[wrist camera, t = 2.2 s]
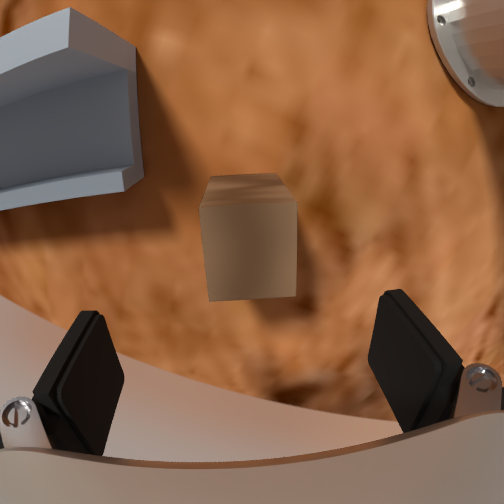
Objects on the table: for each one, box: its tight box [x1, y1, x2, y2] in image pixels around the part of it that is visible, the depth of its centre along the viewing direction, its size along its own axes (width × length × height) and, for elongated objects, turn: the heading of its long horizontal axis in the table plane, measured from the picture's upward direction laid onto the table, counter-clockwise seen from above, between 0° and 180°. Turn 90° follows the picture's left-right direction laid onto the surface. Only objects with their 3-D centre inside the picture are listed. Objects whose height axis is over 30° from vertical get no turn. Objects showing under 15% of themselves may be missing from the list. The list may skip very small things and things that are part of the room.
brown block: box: [199, 173, 297, 302], centre depth 19 cm, size 4×6×8 cm
